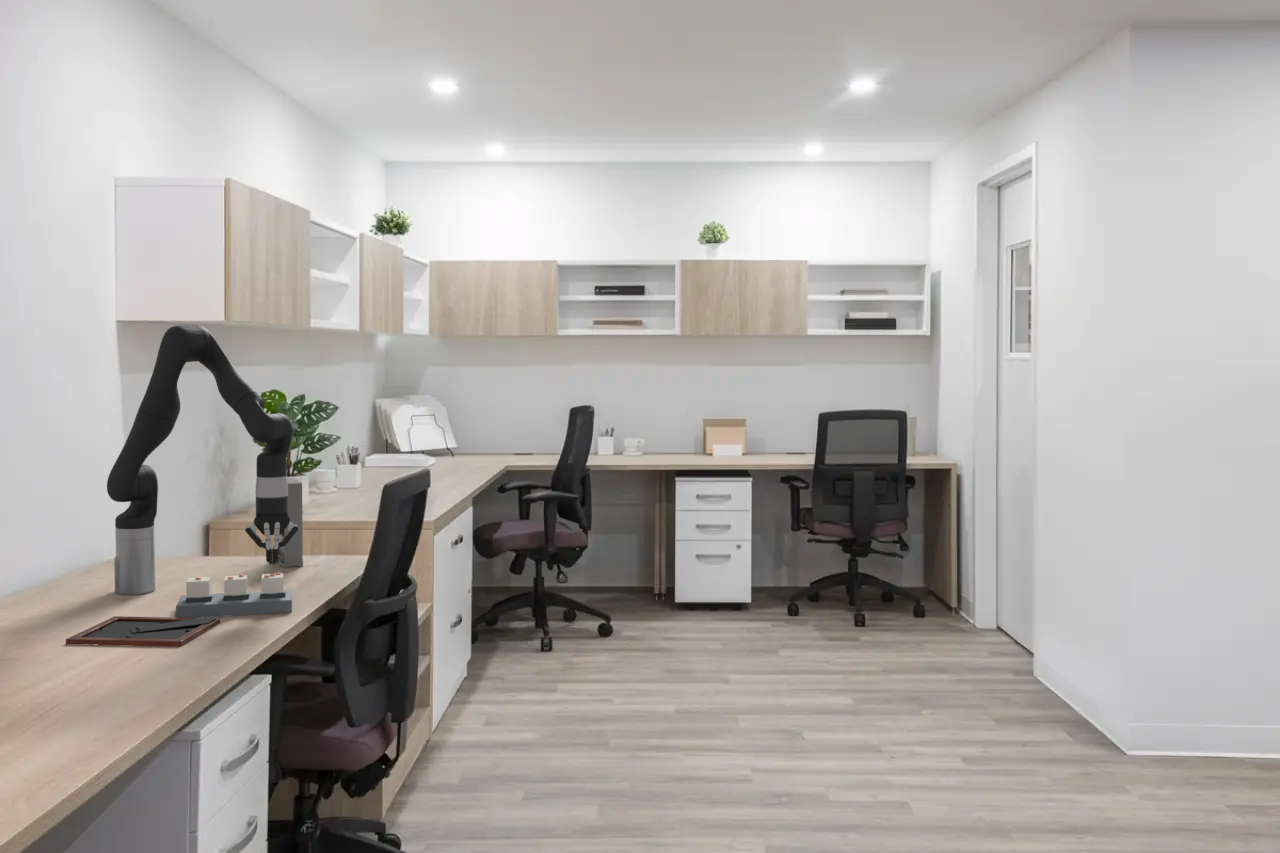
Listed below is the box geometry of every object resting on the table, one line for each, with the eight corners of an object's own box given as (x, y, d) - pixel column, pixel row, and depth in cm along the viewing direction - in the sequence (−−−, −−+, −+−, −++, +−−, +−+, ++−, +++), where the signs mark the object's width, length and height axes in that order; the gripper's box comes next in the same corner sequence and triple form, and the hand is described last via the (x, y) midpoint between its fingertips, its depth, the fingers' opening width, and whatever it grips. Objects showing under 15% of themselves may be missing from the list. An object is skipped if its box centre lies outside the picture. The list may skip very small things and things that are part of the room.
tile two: (224, 597, 253) (224, 578, 253) (225, 593, 258) (225, 574, 257) (246, 596, 255) (246, 577, 254) (247, 592, 259) (247, 573, 259)
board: (176, 618, 247) (175, 606, 246) (181, 607, 258) (181, 595, 258) (291, 612, 255) (291, 599, 255) (291, 601, 266) (291, 589, 266)
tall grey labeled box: (274, 559, 320) (273, 478, 318) (294, 558, 323) (294, 478, 321) (281, 568, 308) (281, 483, 306) (303, 566, 310) (302, 483, 309)
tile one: (186, 599, 250) (186, 580, 250) (188, 595, 255) (188, 576, 255) (208, 598, 252) (208, 579, 252) (210, 594, 257) (210, 575, 256)
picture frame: (220, 625, 243) (114, 623, 244) (220, 617, 243) (114, 615, 244) (180, 649, 223) (65, 647, 224) (180, 640, 223) (65, 638, 224)
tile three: (261, 595, 256) (261, 576, 255) (262, 591, 260) (262, 572, 260) (283, 594, 257) (283, 575, 257) (283, 590, 262) (283, 571, 262)
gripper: (242, 497, 252) (243, 568, 253) (300, 495, 256) (300, 565, 257) (243, 493, 259) (244, 562, 260) (299, 491, 263) (300, 559, 264)
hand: (272, 563), depth 258 cm, fingers closed
